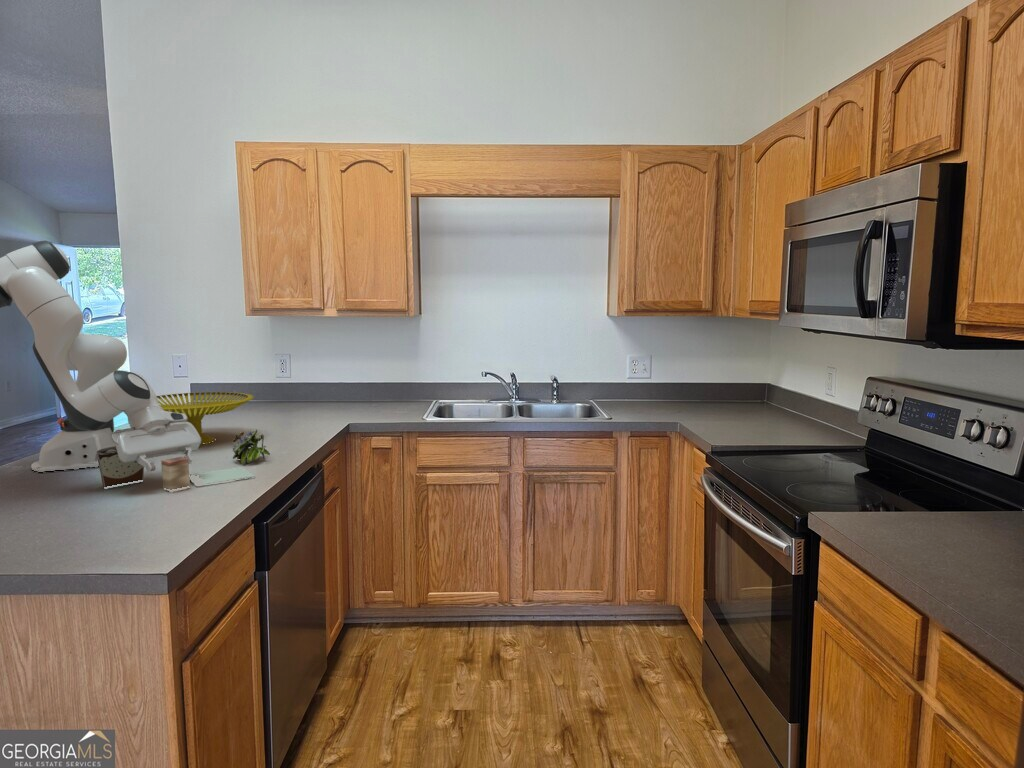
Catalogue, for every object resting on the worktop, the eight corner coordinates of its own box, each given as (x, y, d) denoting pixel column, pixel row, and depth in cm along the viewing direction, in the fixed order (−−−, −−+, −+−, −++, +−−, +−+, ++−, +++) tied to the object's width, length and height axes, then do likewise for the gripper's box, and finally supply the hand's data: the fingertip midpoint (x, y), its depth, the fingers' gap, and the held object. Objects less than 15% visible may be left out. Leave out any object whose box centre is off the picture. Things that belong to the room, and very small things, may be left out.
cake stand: (207, 458, 203) (204, 411, 201) (98, 452, 211) (94, 406, 209) (278, 432, 242) (276, 393, 240) (183, 428, 250) (181, 390, 248)
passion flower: (241, 477, 201) (239, 442, 206) (276, 469, 202) (273, 435, 207) (227, 465, 191) (225, 428, 196) (264, 457, 192) (262, 421, 197)
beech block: (171, 493, 166) (168, 462, 165) (163, 490, 168) (161, 460, 167) (190, 488, 170) (188, 458, 169) (182, 486, 172) (180, 456, 171)
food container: (140, 477, 181) (137, 442, 179) (149, 481, 177) (146, 445, 176) (90, 486, 171) (86, 450, 170) (98, 491, 167) (95, 453, 166)
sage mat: (196, 487, 171) (196, 485, 171) (185, 477, 181) (185, 475, 181) (255, 478, 180) (255, 476, 180) (241, 468, 190) (241, 466, 190)
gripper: (111, 423, 163) (131, 467, 159) (191, 413, 180) (212, 452, 175) (105, 438, 166) (124, 482, 162) (184, 427, 183) (204, 466, 178)
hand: (170, 466), depth 169 cm, fingers open, 8 cm apart
